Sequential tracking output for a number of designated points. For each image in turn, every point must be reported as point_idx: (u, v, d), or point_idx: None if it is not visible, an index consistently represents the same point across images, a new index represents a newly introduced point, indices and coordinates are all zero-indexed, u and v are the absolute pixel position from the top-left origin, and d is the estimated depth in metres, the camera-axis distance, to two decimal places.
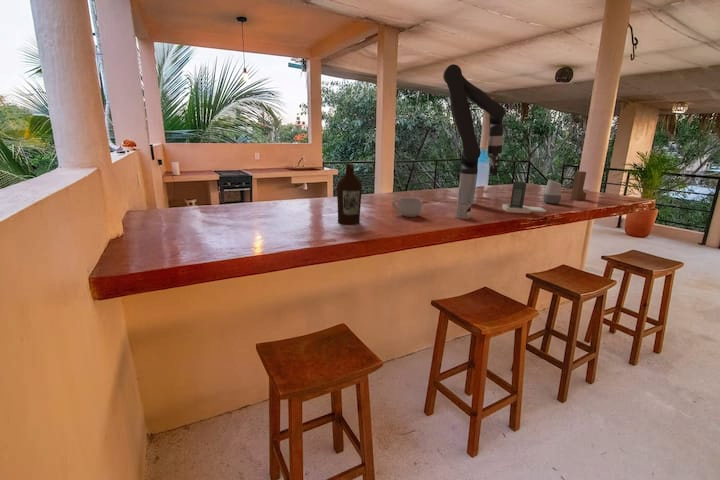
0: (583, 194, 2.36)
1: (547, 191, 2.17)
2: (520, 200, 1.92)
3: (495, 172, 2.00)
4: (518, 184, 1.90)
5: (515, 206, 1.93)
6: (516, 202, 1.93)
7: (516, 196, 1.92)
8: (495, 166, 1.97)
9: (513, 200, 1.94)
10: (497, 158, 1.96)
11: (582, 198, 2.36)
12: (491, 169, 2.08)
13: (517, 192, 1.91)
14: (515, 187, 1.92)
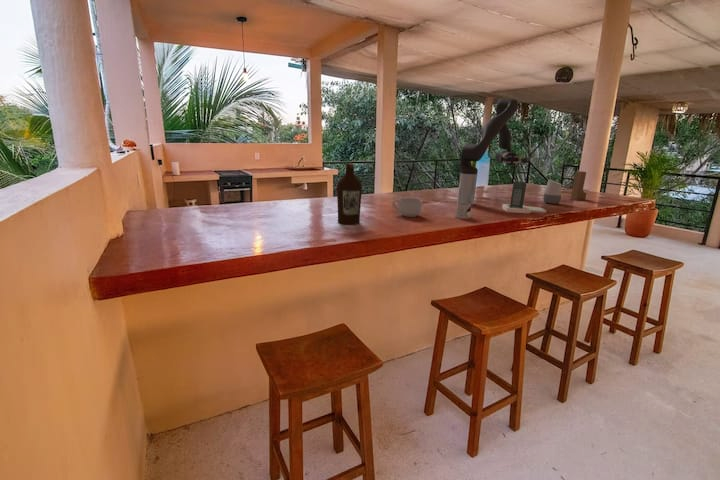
0: (583, 194, 2.36)
1: (547, 191, 2.17)
2: (520, 200, 1.92)
3: (524, 160, 2.05)
4: (518, 184, 1.90)
5: (515, 206, 1.93)
6: (516, 202, 1.93)
7: (516, 196, 1.92)
8: None
9: (513, 200, 1.94)
10: None
11: (582, 198, 2.36)
12: None
13: (517, 192, 1.91)
14: (515, 187, 1.92)
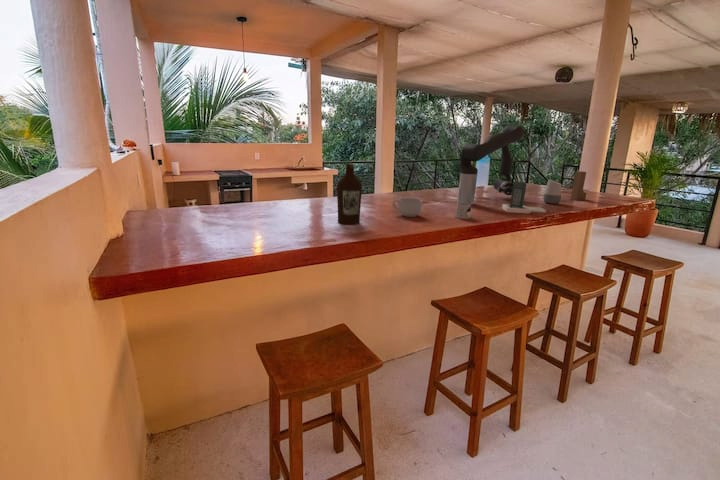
0: (583, 194, 2.36)
1: (547, 191, 2.17)
2: (520, 200, 1.92)
3: None
4: (518, 184, 1.90)
5: (515, 206, 1.93)
6: (516, 202, 1.93)
7: (516, 196, 1.92)
8: (525, 190, 2.06)
9: (513, 200, 1.94)
10: None
11: (582, 198, 2.36)
12: None
13: (517, 192, 1.91)
14: (515, 187, 1.92)
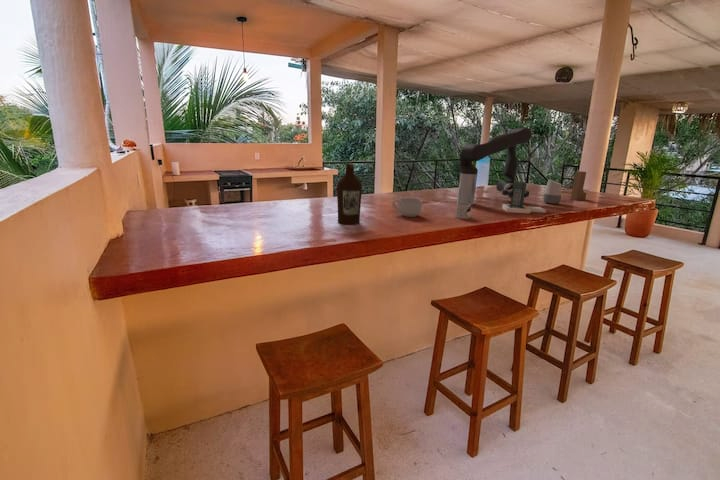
0: (583, 194, 2.36)
1: (547, 191, 2.17)
2: (520, 200, 1.92)
3: (526, 195, 1.94)
4: (518, 184, 1.90)
5: (515, 206, 1.93)
6: (516, 202, 1.93)
7: (516, 196, 1.92)
8: None
9: (513, 200, 1.94)
10: None
11: (582, 198, 2.36)
12: None
13: (517, 192, 1.91)
14: (515, 187, 1.92)
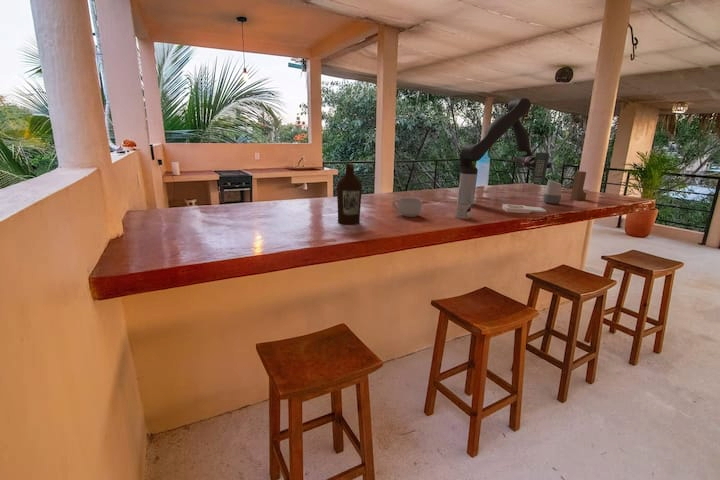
0: (583, 194, 2.36)
1: (547, 191, 2.17)
2: (543, 171, 1.90)
3: None
4: (541, 154, 1.88)
5: (537, 177, 1.91)
6: (538, 173, 1.90)
7: (539, 167, 1.90)
8: None
9: (535, 171, 1.91)
10: None
11: (582, 198, 2.36)
12: None
13: (540, 163, 1.89)
14: (538, 158, 1.89)
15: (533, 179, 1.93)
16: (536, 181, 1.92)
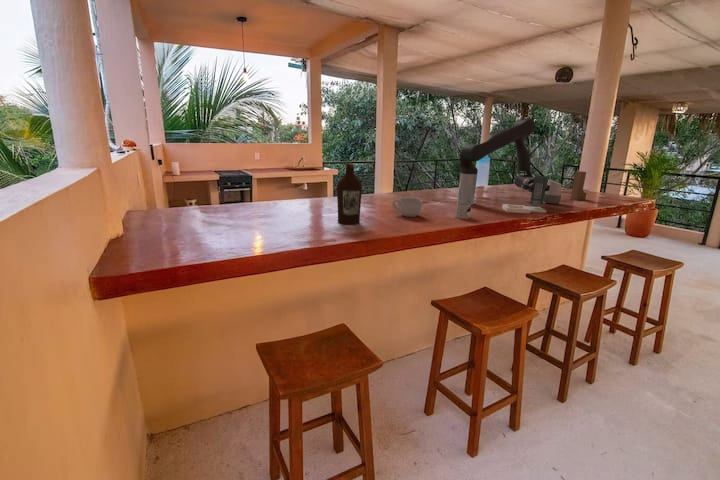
0: (583, 194, 2.36)
1: (547, 191, 2.17)
2: (541, 194, 1.93)
3: (547, 189, 1.95)
4: (539, 178, 1.91)
5: (536, 200, 1.95)
6: (537, 196, 1.94)
7: (537, 190, 1.93)
8: (549, 187, 1.98)
9: (534, 194, 1.95)
10: None
11: (582, 198, 2.36)
12: None
13: (538, 186, 1.93)
14: (536, 181, 1.93)
15: (532, 202, 1.97)
16: (535, 204, 1.96)
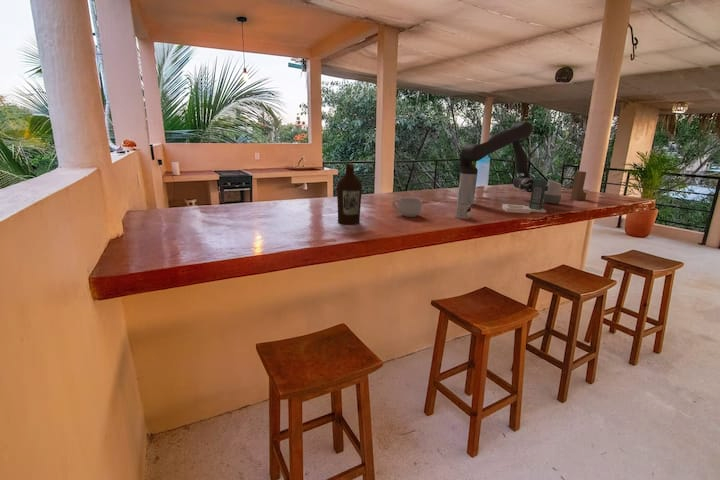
0: (583, 194, 2.36)
1: (547, 191, 2.17)
2: (540, 198, 1.94)
3: None
4: (538, 182, 1.92)
5: (535, 204, 1.95)
6: (536, 200, 1.95)
7: (536, 194, 1.94)
8: (547, 187, 2.03)
9: (533, 198, 1.96)
10: None
11: (582, 198, 2.36)
12: None
13: (537, 190, 1.93)
14: (535, 185, 1.94)
15: (531, 205, 1.97)
16: (534, 208, 1.96)
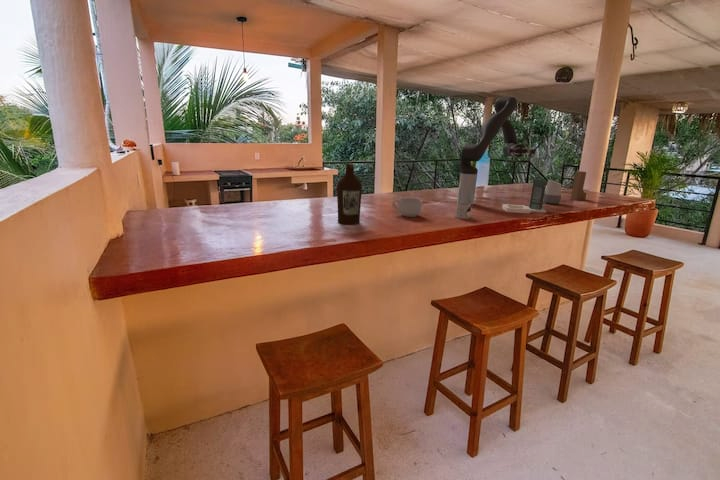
0: (583, 194, 2.36)
1: (547, 191, 2.17)
2: (540, 198, 1.94)
3: None
4: (538, 182, 1.92)
5: (535, 204, 1.95)
6: (536, 200, 1.95)
7: (536, 194, 1.94)
8: (535, 150, 2.10)
9: (533, 198, 1.96)
10: None
11: (582, 198, 2.36)
12: None
13: (537, 190, 1.93)
14: (535, 185, 1.94)
15: (531, 205, 1.97)
16: (534, 208, 1.96)
